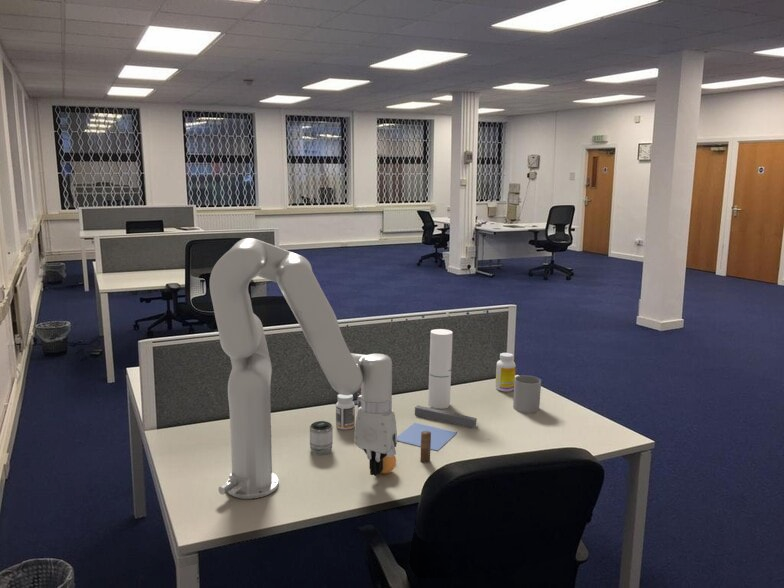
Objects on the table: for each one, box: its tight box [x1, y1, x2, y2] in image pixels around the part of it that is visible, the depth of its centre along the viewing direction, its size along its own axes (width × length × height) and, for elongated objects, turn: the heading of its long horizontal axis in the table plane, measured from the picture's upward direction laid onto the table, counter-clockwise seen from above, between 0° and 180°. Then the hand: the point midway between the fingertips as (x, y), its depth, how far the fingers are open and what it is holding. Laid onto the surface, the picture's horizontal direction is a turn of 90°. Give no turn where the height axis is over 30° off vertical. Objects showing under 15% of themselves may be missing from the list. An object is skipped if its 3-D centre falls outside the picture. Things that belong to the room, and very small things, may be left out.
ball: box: [380, 454, 397, 475], centre depth 162 cm, size 6×6×6 cm
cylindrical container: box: [427, 328, 454, 410], centre depth 207 cm, size 7×7×25 cm
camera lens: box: [309, 420, 334, 456], centre depth 174 cm, size 6×6×8 cm
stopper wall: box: [414, 405, 478, 429], centre depth 196 cm, size 2×20×2 cm, turn 62°
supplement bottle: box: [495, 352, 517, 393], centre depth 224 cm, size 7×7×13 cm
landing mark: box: [397, 422, 458, 452], centre depth 185 cm, size 14×14×1 cm
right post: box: [420, 431, 431, 464], centre depth 169 cm, size 3×3×8 cm
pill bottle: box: [335, 393, 356, 431], centre depth 190 cm, size 6×6×10 cm
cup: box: [512, 374, 542, 414], centre depth 207 cm, size 8×8×10 cm
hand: (376, 473), depth 158 cm, fingers closed
